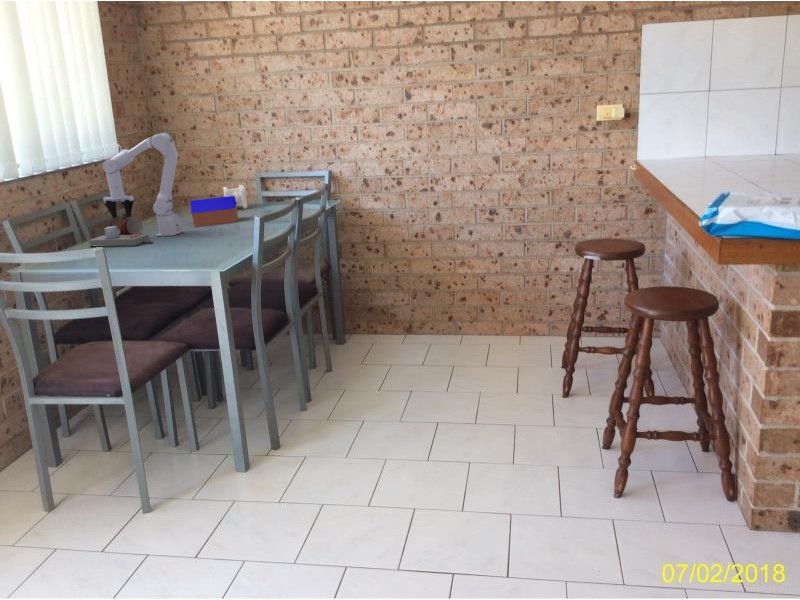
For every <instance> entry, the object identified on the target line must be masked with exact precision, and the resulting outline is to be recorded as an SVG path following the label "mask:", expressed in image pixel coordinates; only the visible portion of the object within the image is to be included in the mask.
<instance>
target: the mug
mask: <svg viewBox="0 0 800 600" xmlns="http://www.w3.org/2000/svg"><path fill="white" fill-rule="evenodd" d="M118 229H119V230H118V231H119V232H118V234H119V235H141V233H142V232H143V229H144V226H143V223H142V221H141V220H140V219H139V218H137V217H129V218H127V219H125V220H124V221H122V222H121V223H120V225H119V228H118Z"/></svg>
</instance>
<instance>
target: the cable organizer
mask: <svg viewBox="0 0 800 600" xmlns="http://www.w3.org/2000/svg"><path fill="white" fill-rule="evenodd" d="M222 191H223V195H224V196H223V197H228V196H234V197H235V200H236V204H237V205H236V207H238V206H239V207H241V206H242V208H243V209H244V210H247V209H248V201H247V195H246V191H247V190H246V187H245V186H244V185H243V184H238V187H235V188H234V187H233V188H228V187H227V186H223V187H222Z"/></svg>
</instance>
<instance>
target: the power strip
mask: <svg viewBox="0 0 800 600" xmlns="http://www.w3.org/2000/svg"><path fill="white" fill-rule="evenodd" d="M88 243H89V244H88V245H89V246H90V245H92V246H93V245H103V246H105V247H104V248H106V246H122V247H138V246H141V245H143V244H144V245H145V244H147V245H148V244H153V243H154V242H153V240H150V236H149V234H148V233H147V234H139V235H119V237H118V238H115V239H106V235H101V236H98V237H95V238H92V239H89V240H88Z"/></svg>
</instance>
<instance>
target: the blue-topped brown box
mask: <svg viewBox="0 0 800 600" xmlns="http://www.w3.org/2000/svg"><path fill="white" fill-rule="evenodd" d="M236 205H237V204H236V200H235V197H234V196H228V197H224V196H222V197H221V196H220V197H212V198H211V197H210V198H204V199H203V198H201V199H195V200H194V199H193V200H190V213H191V215H192V220H193V227H194V228H197V227H206V226H214V225H223V224H231V223H237V222H238V219H239V215H238V209H237V208H238V207H237V206H236Z"/></svg>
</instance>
